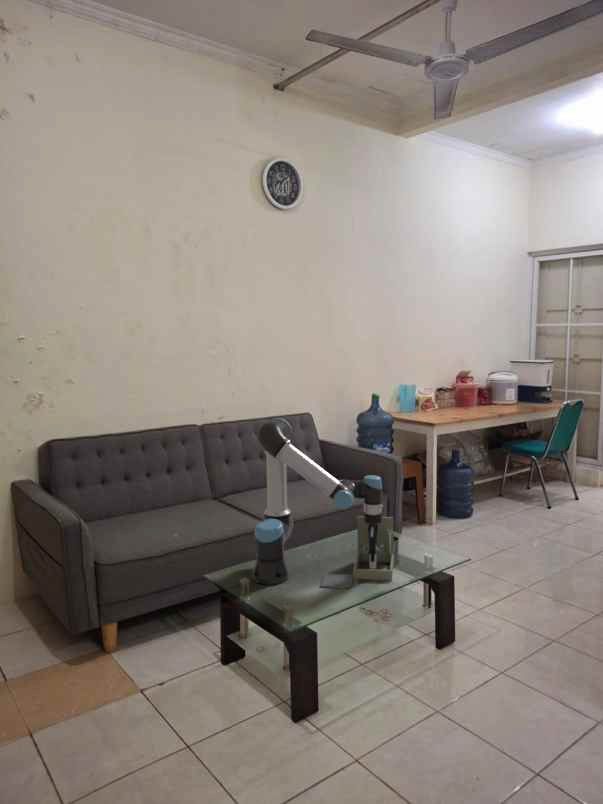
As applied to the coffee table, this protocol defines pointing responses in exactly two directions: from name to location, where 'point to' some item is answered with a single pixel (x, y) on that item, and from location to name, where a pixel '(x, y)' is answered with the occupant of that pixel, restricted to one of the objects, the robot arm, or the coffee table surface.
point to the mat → (336, 581)
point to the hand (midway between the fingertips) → (373, 566)
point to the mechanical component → (368, 549)
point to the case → (387, 556)
